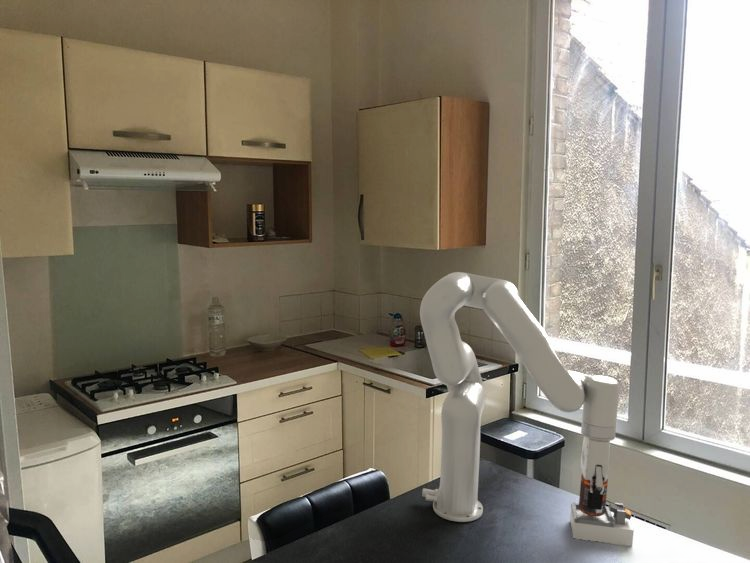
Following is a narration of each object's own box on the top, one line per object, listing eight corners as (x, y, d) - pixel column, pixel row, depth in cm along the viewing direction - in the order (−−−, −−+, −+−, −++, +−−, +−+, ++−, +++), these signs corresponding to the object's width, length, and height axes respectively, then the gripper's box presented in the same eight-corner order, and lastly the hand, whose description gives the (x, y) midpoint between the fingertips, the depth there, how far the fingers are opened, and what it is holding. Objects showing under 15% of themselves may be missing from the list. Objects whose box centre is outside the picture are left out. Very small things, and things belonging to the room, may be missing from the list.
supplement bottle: (606, 519, 143) (611, 473, 141) (580, 515, 144) (583, 470, 142) (602, 506, 149) (606, 462, 147) (577, 503, 150) (580, 459, 148)
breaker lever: (609, 510, 144) (612, 506, 144) (608, 506, 146) (610, 501, 146) (629, 519, 143) (632, 515, 143) (627, 515, 146) (630, 510, 145)
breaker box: (573, 538, 144) (575, 509, 143) (570, 521, 152) (572, 493, 151) (632, 546, 141) (634, 517, 140) (625, 528, 149) (628, 500, 148)
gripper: (577, 415, 153) (572, 483, 155) (585, 441, 136) (579, 517, 138) (609, 418, 151) (603, 487, 153) (621, 445, 134) (615, 522, 137)
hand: (592, 500), depth 146 cm, fingers closed on supplement bottle, 5 cm apart
